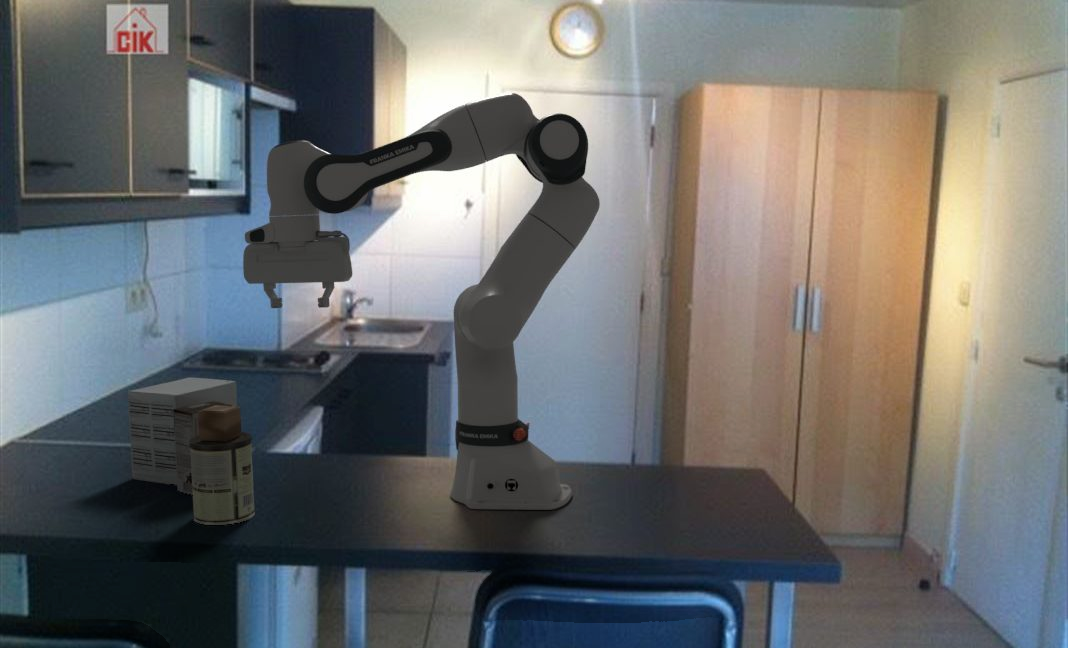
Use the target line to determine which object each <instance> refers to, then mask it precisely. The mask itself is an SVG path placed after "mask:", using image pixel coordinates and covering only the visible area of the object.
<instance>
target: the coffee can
mask: <svg viewBox="0 0 1068 648" xmlns="http://www.w3.org/2000/svg"><path fill="white" fill-rule="evenodd" d="M241 432H242V435H241V436H239V437H236V438H234V439H231V440H229V441H227V442H220V441H202V440H199V436H196V437H193V438H191V439H190V440H189V445H190V454H191V472H192V491H193V496H192V504H193V505H192V507H193V509H192V510H193V519H194V520H193V522H194V521H195V522H197V523H200V524H204V525H225V526H227V525H226V524H232V525H235V524H234V523H238V524H240V522H242V523H244V522H243V521H245V522H247V521H249V520H251V519H252V518H254V516H255V515H256V512H255V494H254V471H253V454H252V453H253V452H252V451H253V449H252V441H253V440H252V439H253V435H252V434H250V433H249V432H243V431H241ZM246 520H247V521H246ZM195 522H194V523H195ZM197 523H196V524H197ZM204 525H203V526H204Z"/></svg>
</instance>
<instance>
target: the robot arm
mask: <svg viewBox="0 0 1068 648" xmlns="http://www.w3.org/2000/svg"><path fill="white" fill-rule="evenodd" d="M588 153H589V138H588V135H587V132H586V130H585V127H584V126H583V125H582V123H581V122H580V121H579V120H577V119H576V118H575V117H573V116H571V115H569V114H566V113H560V112H559V113H551V114H548V115H545V116H543V117H542V118H540V119H539V118H538V117H536V115H535V114H534V112H533V110H532V108H531V106H530V104H529V103H528V101H527V100H526V99H525V98H524V97H523V96H521V95H520V94H518V93H515V92H508V93H500V94H496V95H490V96H488V97H483V98H480V99H476V100H474V101H471V102H467V103H465V104H462V105H460V106H457V107H455V108H452V109H451V110H448V111H447V112H444V113H442V114H441V115H439V116H438V117H436V118H435V119H433V120H431V121H429V122H428V123H426V124H425V125H423V126H422V127H420V128H419V129H418V130H416V131H414V132H413V133H411V134H409V135H407V136H404V137H402V138H400V139H397V140H395V141H392V142H390V143H386V144H383V145H381V146H379V147H375V148H372V149H370V150H368V151H364V152H361V153H357V154H344V153H343V154H340V153H329V151H325V150H323V149H321V148H319V147H317V146H316V145H314V144H313V143H312V142H311V141H309V140H304V139H302V140H301V139H300V140H299V139H298V140H291V141H286V142H282V143H280V144H277V145H275V146H273V147H272V148H271V149H270V151H269V152H268V155H267V161H266V162H267V163H266V186H267V187H266V189H267V194H268V198H269V201H270V202H269V203H270V207H269V212H268V214H269V215H268V218H269V220H268V221H269V222H268V223H265V224H263V225H261V226H258V227H256V228H252V229H250V230H248V231H245V233H244V240H245V243H247V245H246V247H245V248H244V250H243V259H242V260H243V262H242V270H243V271H242V272H243V279H245V281H246V282H247V284H250V285H252V284H255V285H258V284H260V285H261V284H262V287H263V291H264V293H265V295H267V297H268V298H269V301H270V308H271V309H281V308H282V307H283V298H282V297H278V295H277V293H276V291H275V289H277V288H276V287H277V284H306V283H307V284H309V283H311V284H313V283H315V284H316V283H321V285H322V289H324V291H323V294H322V297H317V306H318V308H319V309H320V308H322V309H323V308H329V307H330V306H331V305H330V297H331V296H332V293H333V292H334V289H335V283H345V282H349V281H350V280H351V278H352V277H353V266H352V260H351V255H350V249H351V247H350V246H351V245H350V244H351V243H350V238H349V237H348V235H347V234H346V233H344V232H342V231H341V230H321V226H320V225H321V223H320V211H321V212H323V213H326V214H333V215H334V214H335V215H336V214H342V213H346V212H351V211H355V210H356V209H357V208H359V207H360V206H361V205H363V204H364V203H365V201H366V200H367V199H368V196H369V193H370V192H371V191H373V190H375V189H376V188H378V187H382V186H384V185H387V184H390V183H392V182H395V181H398V180H400V179H402V178H405V177H408V176H410V175H414V174H418V173H423V172H431V171H432V172H436V171H437V172H455V171H461V170H466V169H469V168H473V167H476V166H480V165H482V164H485V163H486V162H487V163H488V162H490V161H492V160H495V159H497V158H500V157H504V156H507V155H515V156H516V158H517V159H518V160H519V161H520V163H522V165H523V167H525V169H526V171H527V172H528V174H530V175H531V176H532V178H534V179H535V180H537V181H538V182H540V183H542V189H541V192H540V194H539V196H538V198H537V199H536V201H535V203H534V204H533V205H532V206H531V207H530V209H529V210H528V211H527V212H526V214H525V215H524V217H523V218H522V220H520V222H519V223H518V224H517V226H516V227H515V228H514V230H513V231H512V233H510V235H509V236H508V237H507V239H506V240H505V241H504V243H503V244H502V246H501V247H500V249H499V251H498V253H497V254H496V256H495V258H494V259H493V261H492V262H491V264H490V266H489V268H488V269H487V271H486V272H485V274H484V275H483V277H482V278H481V280H480V281H479V283H478V284H473V285H470V286H469V287H467V288H465V289H464V290H463V291H462V292H460V294H459V295H458V297H457V299H456V300H455V303H454V307H453V327H454V328H453V330H454V332H453V333H454V349H455V350H454V351H455V363H456V374H457V375H456V377H457V378H456V379H457V420H456V422H455V428H454V429H455V430H454V431H455V435H454V439H455V441H454V442H455V449H456V451H457V454H456V462H455V463H456V465H455V473H454V477H453V478H454V479H453V483H452V486H451V491H450V494H449V495H450V498H452V499H453V500H454V501H455V502H458V503H461V504H464V505H465V506H466V507H467V508H469V509H471V510H517V511H518V510H525V511H528V510H529V511H531V510H533V511H535V510H536V511H541V510H543V511H545V510H546V511H550V510H556V509H558V508H561V507H563V506H565V505H566V504H568V502H569V501H571V498H572V497H573V492H572V488H571V486H570V485H568V484H565V483H561V480H560V473H559V470H558V469H559V468H558V466H557V464H556V462H555V460H554V459H553V458H552V457H551V456H550V455H548V454H547V453H546V452H544V451H543V450H542V449H540V448H539V447H537V445H536V444H534V443H532V442H531V441H530V440H529V429H530V422H527V423H524V422H523V421H522V420H520V419H519V417H518V416H519V412H518V411H519V409H518V408H519V407H518V406H519V404H518V403H519V402H518V401H519V400H518V399H519V398H518V397H519V394H518V392H519V391H518V390H519V389H518V387H519V386H518V385H519V383H518V381H519V380H518V373H517V366H516V357H515V348H514V347H515V346H514V345H515V344H514V342H515V340H517V338H518V337H519V335H520V333H521V331H522V329H523V327H524V326H525V325H526V323H527V322H528V321H529V318H530V317H531V315H532V314H533V312H534V311H535V309H536V308H537V306H538V304H539V302H540V300H541V299H542V297H543V295H544V294H545V292H546V290H547V288H548V287H549V285H550V284H551V283H552V281H553V279H555V277H556V275H557V274H558V273H559V271H560V270H561V269H562V268H563V266H565V263H566V262H567V261H568V260H569V259H570V257H571V255H573V253H574V251H575V250H576V249H577V247H578V246H579V245H580V243H581V242H582V240H583V239H584V238H585V236H586V235H587V232H588V231H589V229H590V227H591V226H592V224H593V222H594V220H595V218H596V216H597V214H598V212H599V209H600V197H599V196H598V193H597V191H596V190H595V188H594V187H593V186H592V185H591V184H590V183H589V182H588V181H587V180H585V179H584V177H583V176H584V175H585V174H586V166H587V159H588Z"/></svg>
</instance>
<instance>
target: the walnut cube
mask: <svg viewBox="0 0 1068 648" xmlns="http://www.w3.org/2000/svg"><path fill="white" fill-rule="evenodd" d="M198 419H199V440H202V441H220V442H227V441H229V440H231V439H234V438H236V437H239V436H241V435H242V432H243V431H242V413H241V406H238V405H237V406H219V405H215V406H212V407H209V408H206V409H203V410H201V411H198Z"/></svg>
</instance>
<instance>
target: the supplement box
mask: <svg viewBox="0 0 1068 648" xmlns="http://www.w3.org/2000/svg"><path fill="white" fill-rule="evenodd" d="M237 397H238V395H237V381H234V380H226V379H215V378H206V377H205V378H204V377H185V378H182V379H177V380H174V381H169V382H164V383H158V384H154V385H150V386H145V387H140V388H137V389H132V390H127V407H128V424H129V439H130V440H129V441H130V442H129V443H130V455H131V456H130V457H131V458H130V459H131V476H132V479H133V480H138V481H143V482H144V481H145V482H151V483H158V484H163V483H164V484H163V485H170V484H174V485H173V486H177V468H176V449H175V431H174V412H173V409H177V408H181V407H186V406H191V405H196V404H201V403H207V402H211V401H215V402H221V403H225V404H228V405H232V406H238V398H237Z"/></svg>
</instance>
